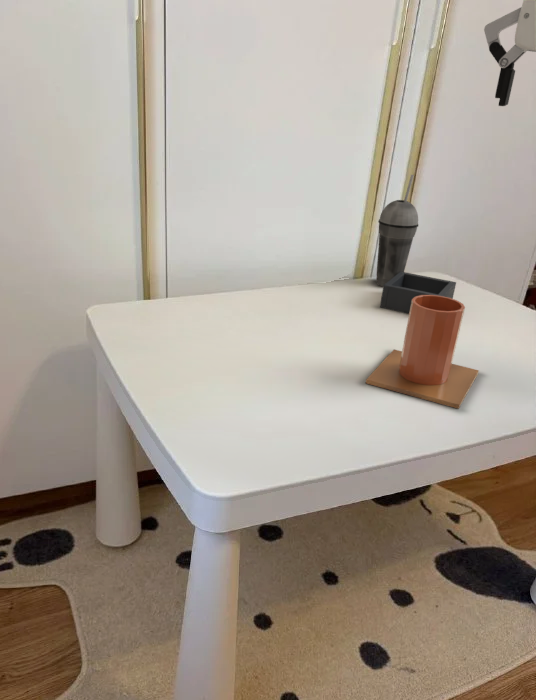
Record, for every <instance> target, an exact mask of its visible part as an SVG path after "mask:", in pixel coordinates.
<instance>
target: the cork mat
mask: <svg viewBox="0 0 536 700" xmlns="http://www.w3.org/2000/svg"><path fill="white" fill-rule="evenodd" d="M401 354H402V350H398V349H393V350H392V351H391V352H390V353H389V354H388V355H387V356H386V357H385V359H384V360H383V361H382V362H381V363H380V364H379V365H378V366H377V367H376V368H375V369H374V370H373V371H372V372H371V373H370V374H369V375H368V377H367V378H366V379H365V384H367V385H371V386H374V387H378V388H382V389H385V390H389V391H392V392H396V393H400V394H403V395H407V396H411V397H414V398H417V399H422V400H425V401H429V402H432V403H437V404H439V405H443V406H447V407H451V408H454V409H457V410H458V409H460V407H461V405H462V403H464V400H465V399H466V396H467V395H468V393H469V391H470V390H471V387H472V386H473V384H474V382H475V380H476V378H477V377H478V375H479V372H480V370H479V369H476V368H471V367H467V366H463V365H459V364H456V363H455V364H454V363H452V365H451V370H450V374H449V377H448V380H447V381H446V382H445V383H443V384H439V385H423V384H418V383H415V382H412V381H409V380H407V379H405V378H404V377H402V376H401V375H400V373H399V365H400V359H401Z"/></svg>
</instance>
